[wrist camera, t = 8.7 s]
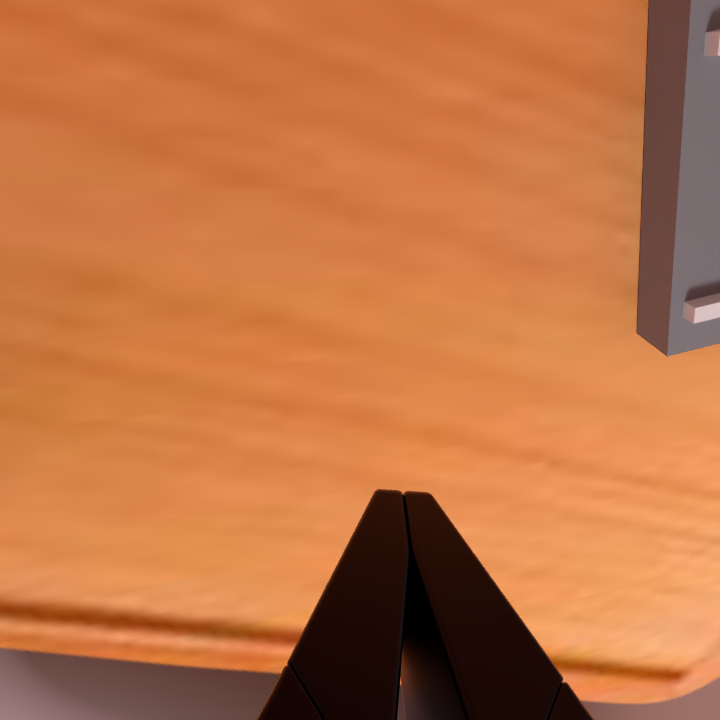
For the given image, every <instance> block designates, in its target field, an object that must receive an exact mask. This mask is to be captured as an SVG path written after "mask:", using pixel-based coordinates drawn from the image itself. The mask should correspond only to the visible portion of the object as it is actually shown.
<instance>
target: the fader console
mask: <svg viewBox="0 0 720 720" xmlns="http://www.w3.org/2000/svg"><path fill="white" fill-rule="evenodd" d="M637 334H638V335H640V336H641V337H642V338H644V339H645V340H646V341H647V342H649V343H650V344H651V345H653V346H654V347H655V348H657V349H658V350H659V351H661V352H662V353H663V354H665V355H666V356H671V355H675V354H679V353H683V352H687V351H691V350H695V349H699V348H703V347H707V346H711V345H715V344H719V343H720V0H649V22H648V49H647V76H646V103H645V130H644V157H643V184H642V210H641V237H640V264H639V291H638V318H637Z"/></svg>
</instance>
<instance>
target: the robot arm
mask: <svg viewBox="0 0 720 720" xmlns="http://www.w3.org/2000/svg"><path fill="white" fill-rule="evenodd" d="M400 676H401V682H402V689H403V698H404V707H405V715H406V720H594V719H593V718H592V716H591V715H590V714H589V712H588V711H587V710H586V708H585V707H584V706H583V704H582V703H581V701H580V700H579V699H578V697H577V696H576V694H575V693H574V692H573V690H572V689H571V687H570V686H569V684H568V683H566V682H563V683H562V681H563V677H562V675H561V674H560V672H559V671H558V670H557V668H556V667H555V665H554V664H553V663H552V661H551V660H550V658H549V657H548V656H547V654H546V653H545V651H544V650H543V649H542V647H541V646H540V645H539V643H538V642H537V640H536V639H535V638H534V636H533V635H532V633H531V632H530V631H529V629H528V628H527V626H526V625H525V624H524V622H523V621H522V619H521V618H520V617H519V615H518V614H517V613H516V611H515V610H514V608H513V607H512V606H511V604H510V603H509V601H508V600H507V599H506V597H505V596H504V594H503V593H502V592H501V590H500V589H499V587H498V586H497V585H496V583H495V582H494V581H493V579H492V578H491V576H490V575H489V574H488V572H487V571H486V569H485V568H484V567H483V565H482V564H481V562H480V561H479V560H478V558H477V557H476V555H475V554H474V553H473V551H472V550H471V549H470V547H469V546H468V544H467V543H466V542H465V540H464V539H463V537H462V536H461V535H460V533H459V532H458V530H457V529H456V528H455V526H454V525H453V523H452V522H451V521H450V519H449V518H448V517H447V515H446V514H445V512H444V511H443V510H442V508H441V507H440V505H439V504H438V503H437V501H436V500H435V498H434V497H433V496H432V495H431V494H430V493H427V492H415V491H406V492H405V493H404V494H402V492H401V491H398V490H385V489H378V490H376V491H375V492H374V494H373V496H372V498H371V500H370V502H369V504H368V506H367V507H366V509H365V511H364V513H363V515H362V517H361V519H360V521H359V523H358V525H357V527H356V529H355V531H354V533H353V535H352V537H351V539H350V541H349V543H348V545H347V547H346V548H345V550H344V552H343V554H342V556H341V558H340V560H339V562H338V564H337V566H336V568H335V570H334V572H333V574H332V576H331V578H330V580H329V582H328V584H327V586H326V588H325V590H324V591H323V593H322V595H321V597H320V599H319V601H318V603H317V605H316V607H315V609H314V611H313V613H312V615H311V617H310V619H309V621H308V623H307V625H306V627H305V629H304V631H303V632H302V634H301V636H300V638H299V640H298V642H297V644H296V646H295V648H294V650H293V652H292V654H291V656H290V658H289V660H288V662H287V666H285V667H284V669H283V671H282V673H281V675H280V677H279V679H278V681H277V683H276V685H275V686H274V688H273V690H272V692H271V694H270V696H269V698H268V699H267V701H266V703H265V705H264V707H263V708H262V710H261V712H260V714H259V716H258V718H257V719H256V720H397V711H398V699H399V688H400Z"/></svg>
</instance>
